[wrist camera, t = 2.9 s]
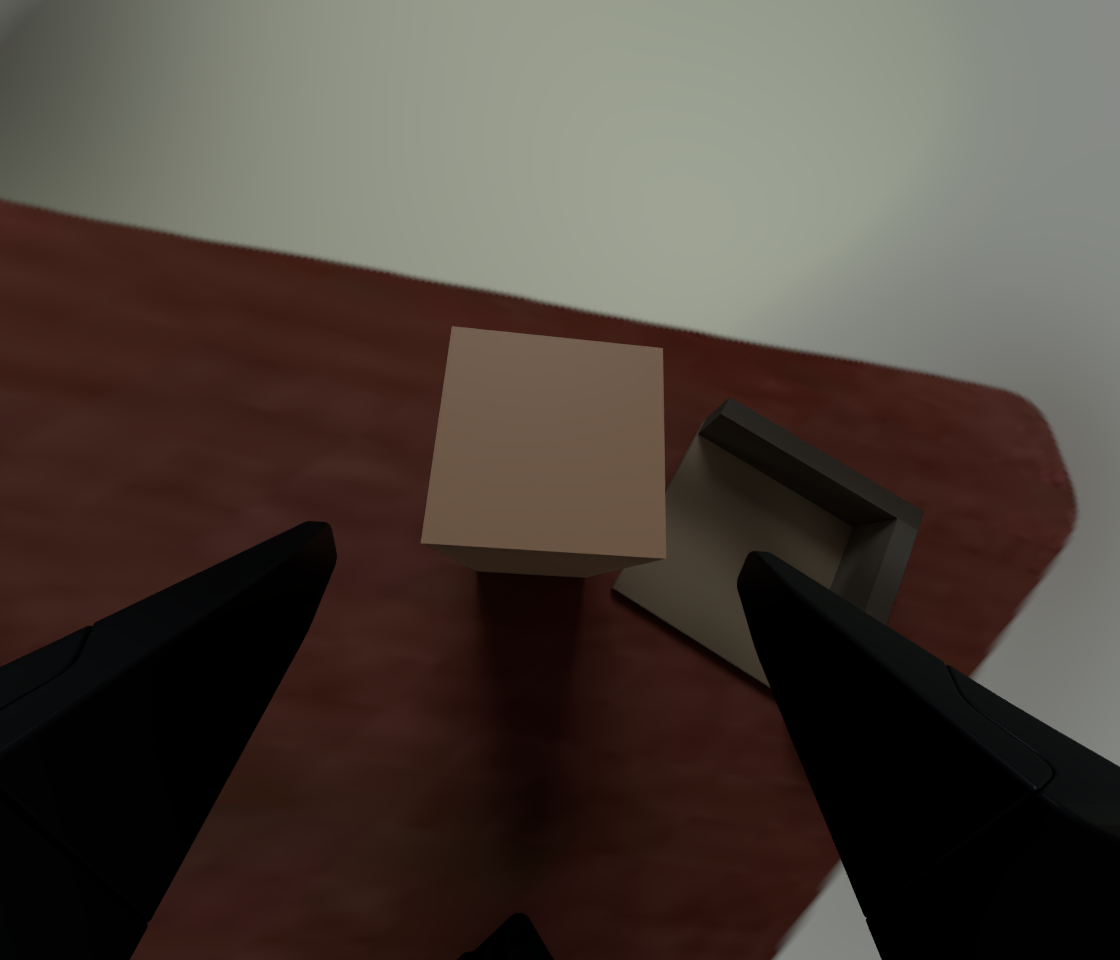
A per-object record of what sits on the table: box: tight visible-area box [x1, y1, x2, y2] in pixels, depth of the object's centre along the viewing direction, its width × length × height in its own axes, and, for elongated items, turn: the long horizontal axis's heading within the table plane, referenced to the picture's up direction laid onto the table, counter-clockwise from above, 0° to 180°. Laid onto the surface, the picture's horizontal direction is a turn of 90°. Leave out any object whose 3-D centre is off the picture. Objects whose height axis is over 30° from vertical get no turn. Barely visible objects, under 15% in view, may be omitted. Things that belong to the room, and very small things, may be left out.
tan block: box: [421, 326, 666, 578], centre depth 14 cm, size 5×5×11 cm
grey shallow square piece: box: [611, 397, 924, 689], centre depth 19 cm, size 10×10×3 cm
